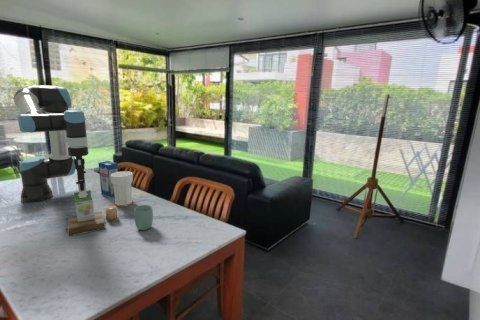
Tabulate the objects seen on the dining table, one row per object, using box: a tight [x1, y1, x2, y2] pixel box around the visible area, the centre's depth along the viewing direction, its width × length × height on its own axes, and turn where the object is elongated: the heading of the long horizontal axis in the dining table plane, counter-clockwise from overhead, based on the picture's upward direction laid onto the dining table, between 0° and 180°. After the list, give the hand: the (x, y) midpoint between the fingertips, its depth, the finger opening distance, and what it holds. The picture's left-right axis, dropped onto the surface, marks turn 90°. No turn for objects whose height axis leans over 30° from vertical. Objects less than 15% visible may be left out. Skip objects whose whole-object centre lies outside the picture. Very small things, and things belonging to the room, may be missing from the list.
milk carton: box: [97, 160, 119, 198], centre depth 164 cm, size 10×6×20 cm, turn 58°
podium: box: [67, 210, 106, 236], centre depth 126 cm, size 14×14×3 cm
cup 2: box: [133, 204, 154, 231], centre depth 124 cm, size 8×8×10 cm
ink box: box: [74, 189, 95, 223], centre depth 124 cm, size 7×4×13 cm, turn 124°
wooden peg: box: [105, 205, 119, 222], centre depth 133 cm, size 5×5×6 cm
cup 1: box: [110, 170, 134, 207], centre depth 151 cm, size 11×11×17 cm
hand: (82, 192), depth 123 cm, fingers open, 13 cm apart
